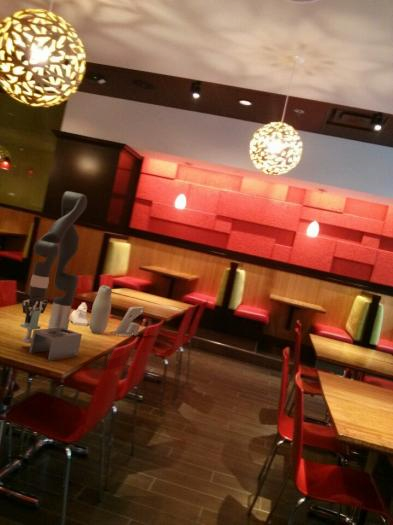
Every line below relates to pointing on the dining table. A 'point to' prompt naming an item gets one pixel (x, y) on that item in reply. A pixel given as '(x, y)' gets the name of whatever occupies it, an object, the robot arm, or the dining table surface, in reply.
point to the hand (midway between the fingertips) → (31, 322)
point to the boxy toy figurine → (31, 325)
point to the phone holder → (129, 322)
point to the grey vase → (101, 310)
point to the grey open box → (56, 342)
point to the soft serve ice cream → (80, 315)
